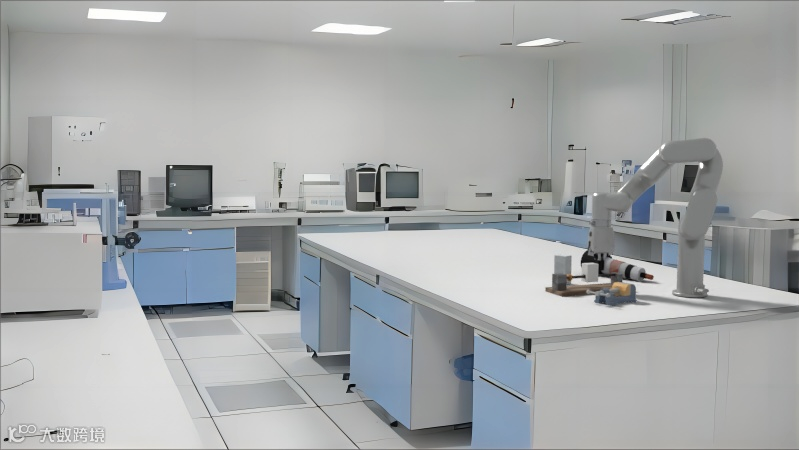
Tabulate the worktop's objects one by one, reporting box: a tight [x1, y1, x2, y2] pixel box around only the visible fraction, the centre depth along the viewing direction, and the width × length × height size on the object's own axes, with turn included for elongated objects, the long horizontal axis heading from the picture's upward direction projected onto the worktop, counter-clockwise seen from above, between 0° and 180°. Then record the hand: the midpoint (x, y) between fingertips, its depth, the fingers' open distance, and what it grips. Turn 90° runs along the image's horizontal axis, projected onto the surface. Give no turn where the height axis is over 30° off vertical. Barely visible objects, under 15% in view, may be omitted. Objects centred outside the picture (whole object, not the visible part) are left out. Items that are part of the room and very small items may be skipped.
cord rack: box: [544, 272, 624, 297], centre depth 305 cm, size 12×30×8 cm, turn 111°
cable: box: [580, 249, 654, 282], centre depth 338 cm, size 10×34×10 cm, turn 39°
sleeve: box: [580, 263, 599, 283], centre depth 305 cm, size 4×5×7 cm
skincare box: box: [553, 253, 573, 285], centre depth 323 cm, size 6×4×12 cm
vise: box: [586, 282, 638, 307], centre depth 283 cm, size 18×10×7 cm, turn 126°
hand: (599, 269), depth 307 cm, fingers closed
